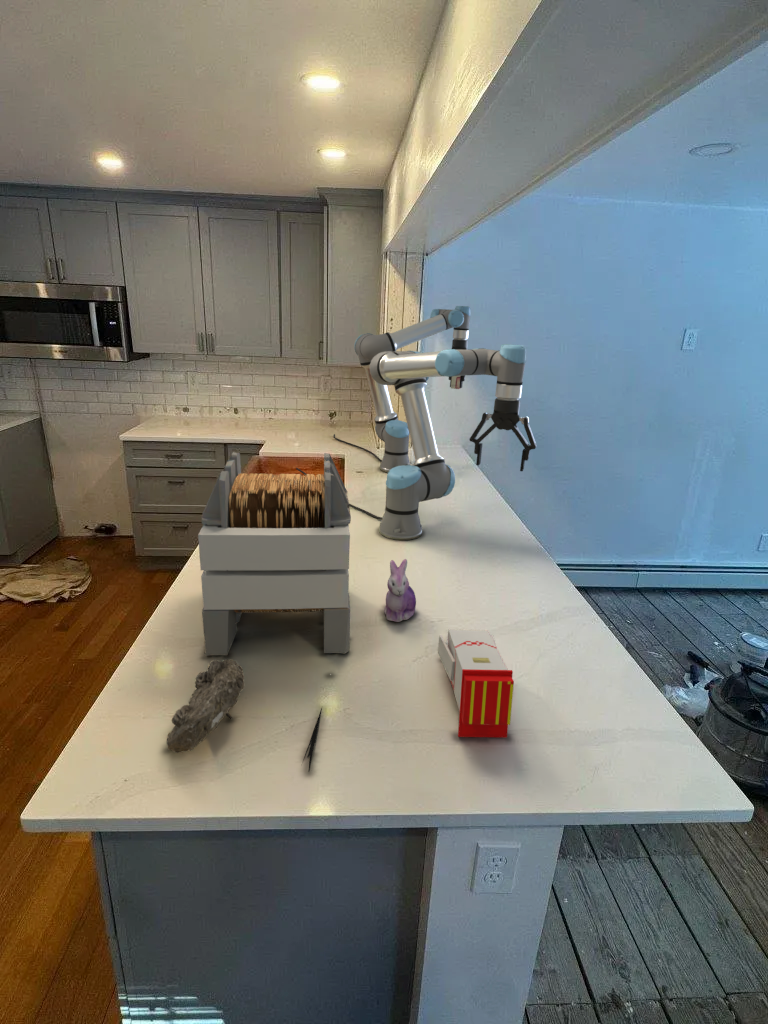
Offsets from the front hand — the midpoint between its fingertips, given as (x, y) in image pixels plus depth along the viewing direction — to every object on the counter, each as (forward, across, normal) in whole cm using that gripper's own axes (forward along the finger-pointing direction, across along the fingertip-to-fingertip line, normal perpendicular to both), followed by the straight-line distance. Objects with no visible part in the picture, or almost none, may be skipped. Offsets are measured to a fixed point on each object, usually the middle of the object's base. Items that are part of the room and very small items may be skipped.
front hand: (499, 467), depth 176 cm
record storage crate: (+30, +40, +64) cm, 81 cm away
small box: (-8, +44, -112) cm, 121 cm away
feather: (+30, +14, +94) cm, 99 cm away
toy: (+30, -11, +73) cm, 80 cm away
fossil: (+30, +33, +101) cm, 111 cm away
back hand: (-9, +44, -112) cm, 121 cm away
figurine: (+30, +14, +50) cm, 59 cm away
